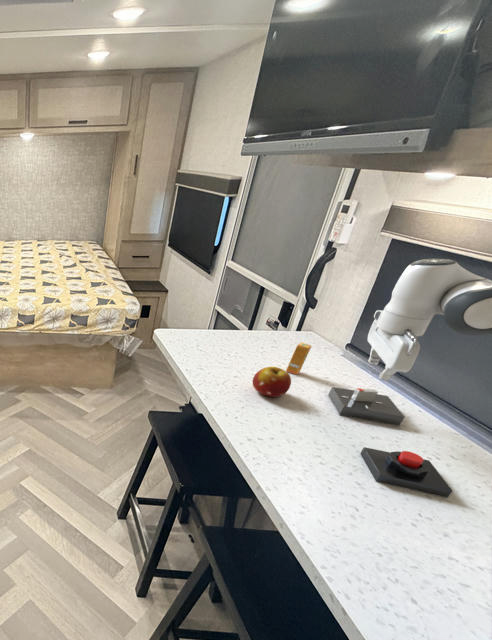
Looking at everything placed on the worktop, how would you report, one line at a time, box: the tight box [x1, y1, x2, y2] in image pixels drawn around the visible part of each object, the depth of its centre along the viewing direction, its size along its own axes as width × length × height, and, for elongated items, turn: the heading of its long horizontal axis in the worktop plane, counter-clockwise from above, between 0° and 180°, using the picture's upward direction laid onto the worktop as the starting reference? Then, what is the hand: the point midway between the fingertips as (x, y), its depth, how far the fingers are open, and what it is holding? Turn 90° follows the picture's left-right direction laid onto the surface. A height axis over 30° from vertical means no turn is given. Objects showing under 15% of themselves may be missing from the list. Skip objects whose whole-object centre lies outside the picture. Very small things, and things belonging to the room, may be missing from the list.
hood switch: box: [359, 446, 453, 499], centre depth 89 cm, size 12×10×4 cm
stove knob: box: [351, 387, 379, 402], centre depth 110 cm, size 5×1×3 cm, turn 84°
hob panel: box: [327, 386, 406, 427], centre depth 111 cm, size 13×11×3 cm
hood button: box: [398, 450, 424, 468], centre depth 88 cm, size 4×4×2 cm
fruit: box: [252, 366, 292, 398], centre depth 118 cm, size 10×9×8 cm
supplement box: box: [285, 342, 312, 376], centre depth 129 cm, size 3×3×10 cm
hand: (377, 371), depth 106 cm, fingers open, 8 cm apart
